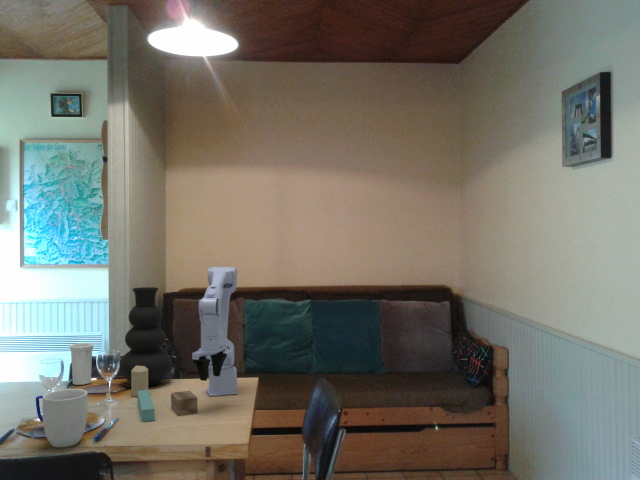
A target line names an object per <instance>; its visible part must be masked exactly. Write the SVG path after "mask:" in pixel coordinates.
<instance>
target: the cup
mask: <svg viewBox="0 0 640 480" xmlns="http://www.w3.org/2000/svg"><path fill="white" fill-rule="evenodd" d="M69 349H70V353H71V354H70V356H71V373H72V384H73V385H77V386H78V385H87V384H91V382H92V367H93V366H92V364H93V363H92V360H93V349H94V344H93V343H92V342H78V343H72V344H70V345H69Z"/></svg>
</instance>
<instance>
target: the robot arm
mask: <svg viewBox="0 0 640 480" xmlns="http://www.w3.org/2000/svg"><path fill="white" fill-rule="evenodd" d="M237 269H238V268H237V267H236V266H210V267H208V269H207V283H208V286H207V288H206V290H205V293H204V296H203V297H202V298H200V299H199V301H198V314H199V322H200V348H198V350H196V351H194V352H192V353H191V355H192V356H191V360H192V362H193V363H194V365H195V367H196V368H197V372H198V374H199V375H198V376H199V379H200V381H202V382H203V381H208V388H206V389H205V391H206V393H207V394H208V396H209V397H217V396H218V397H219V396H229V395H236V394H238V372H237V371H238V370H237V368H236V366H234V363H235V345H234V343H233V342H232V341H231V340H229V339H228V327H229V313H230V312H229V311H230V310H229V309H230V299H231V296H232V294H233V293H235V292H236V290H237V282H238V270H237Z"/></svg>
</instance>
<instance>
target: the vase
mask: <svg viewBox="0 0 640 480" xmlns="http://www.w3.org/2000/svg"><path fill="white" fill-rule="evenodd" d="M158 290H159V287H154V286H151V287H150V286H149V287H148V286H145V287H142V286H141V287H133V288H132V292H133V293H134V301H135V306H134V305H133V307H132V309H130V311H129V313H128V321H129V323H130V325H131V326H132V327H131V328H130V329H129V330H128V331H127V332H126V334H125V337H124V342H125V344H126V346H127V347H128V348H129V349H131V350H129V351H127V352H126V353H125V354H124V355H123V356H122V357H121V359H120V361H119V364H120V368H119V367H118V368H119V369H118V370H119V372H120V374H121V376H122V377H123V378H124V379H126V380H127V381H129V384H130V383H131V370H132V369H133V368H134V367H135V366H136V365H137V366H145V367H146V368H147V369H148V387H149V386H154V385H158V384H160V383H162V380H163V379H164V378H165V377H166V376H167V375H168V374H169V372H170V370H171V369H172V358H171V356H170V355H169V353H168V352H167V351H165V350H163V349H162V348H161V347H163V345H164V344H165V342H166V336H167V335H166V332H165V331H164V330H163V328H161V327H160V326H159V324H160V323H161V322H162V319H163V312H162V310H161V309H160V308H159V307H158V305H156V296H157V292H158Z"/></svg>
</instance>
